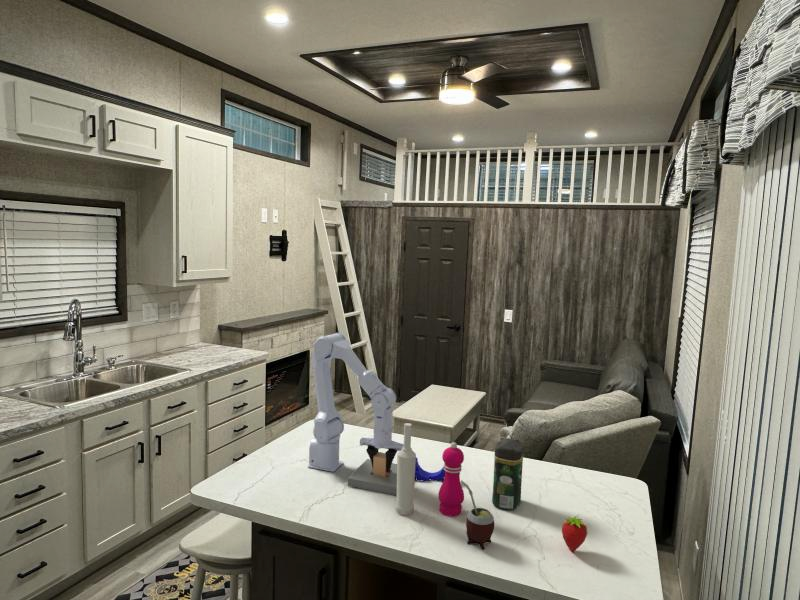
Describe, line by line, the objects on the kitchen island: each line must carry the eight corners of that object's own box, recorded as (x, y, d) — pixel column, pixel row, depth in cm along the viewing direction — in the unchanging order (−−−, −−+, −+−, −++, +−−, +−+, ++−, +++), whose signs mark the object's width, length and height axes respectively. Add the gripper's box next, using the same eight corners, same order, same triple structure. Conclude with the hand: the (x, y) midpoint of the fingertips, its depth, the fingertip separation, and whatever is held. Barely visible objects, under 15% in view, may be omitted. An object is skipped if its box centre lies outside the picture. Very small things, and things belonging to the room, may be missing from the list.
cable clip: (409, 480, 171) (410, 462, 171) (412, 474, 176) (412, 457, 175) (447, 485, 169) (448, 466, 169) (448, 479, 174) (449, 461, 173)
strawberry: (588, 548, 136) (591, 510, 135) (581, 562, 129) (584, 523, 128) (564, 540, 139) (567, 503, 138) (556, 554, 132) (559, 515, 131)
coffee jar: (496, 493, 164) (499, 434, 162) (522, 499, 161) (526, 438, 159) (488, 507, 155) (492, 444, 153) (516, 513, 152) (520, 450, 150)
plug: (372, 478, 169) (373, 456, 168) (377, 473, 172) (378, 451, 172) (384, 480, 167) (385, 458, 167) (389, 475, 171) (389, 453, 170)
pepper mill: (446, 519, 147) (449, 448, 145) (432, 507, 153) (435, 439, 151) (468, 514, 150) (472, 445, 148) (454, 503, 157) (457, 436, 155)
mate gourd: (497, 549, 134) (501, 491, 132) (467, 552, 132) (470, 493, 131) (486, 533, 141) (489, 478, 139) (457, 535, 139) (460, 479, 138)
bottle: (416, 508, 153) (419, 422, 150) (410, 517, 148) (414, 428, 145) (398, 505, 154) (402, 420, 152) (392, 513, 149) (395, 425, 147)
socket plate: (347, 485, 165) (347, 478, 165) (367, 466, 180) (367, 458, 180) (396, 495, 160) (397, 487, 160) (412, 474, 175) (413, 466, 175)
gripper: (356, 428, 167) (355, 471, 168) (400, 435, 162) (399, 479, 164) (365, 422, 174) (363, 462, 175) (408, 428, 169) (406, 470, 170)
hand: (381, 470), depth 170 cm, fingers closed on plug, 4 cm apart
